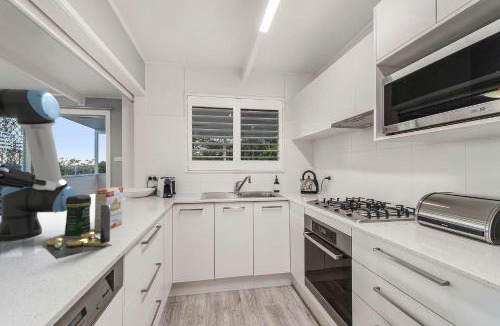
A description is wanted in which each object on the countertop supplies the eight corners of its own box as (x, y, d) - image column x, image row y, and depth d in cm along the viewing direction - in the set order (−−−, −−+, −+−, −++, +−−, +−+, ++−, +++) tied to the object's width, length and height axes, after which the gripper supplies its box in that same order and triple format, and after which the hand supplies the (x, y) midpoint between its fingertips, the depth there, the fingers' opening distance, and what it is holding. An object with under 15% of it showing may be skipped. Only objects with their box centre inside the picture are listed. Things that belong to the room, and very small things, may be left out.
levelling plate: (41, 247, 90) (41, 239, 90) (92, 237, 104) (92, 230, 104) (56, 261, 77) (56, 252, 77) (112, 248, 90) (112, 240, 90)
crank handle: (61, 246, 88) (62, 205, 88) (77, 240, 95) (78, 202, 95) (101, 248, 86) (102, 206, 86) (115, 242, 93) (115, 203, 93)
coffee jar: (78, 238, 101) (79, 196, 102) (60, 238, 102) (61, 196, 102) (94, 232, 111) (94, 193, 111) (78, 232, 111) (78, 193, 112)
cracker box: (106, 233, 109) (107, 189, 110) (93, 233, 109) (94, 189, 110) (123, 226, 123) (123, 186, 124) (111, 226, 123) (112, 186, 124)
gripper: (-61, 187, 64) (42, 201, 84) (-39, 174, 59) (64, 191, 79) (-52, 163, 67) (45, 181, 87) (-30, 148, 62) (67, 171, 82)
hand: (54, 186), depth 83 cm, fingers closed
